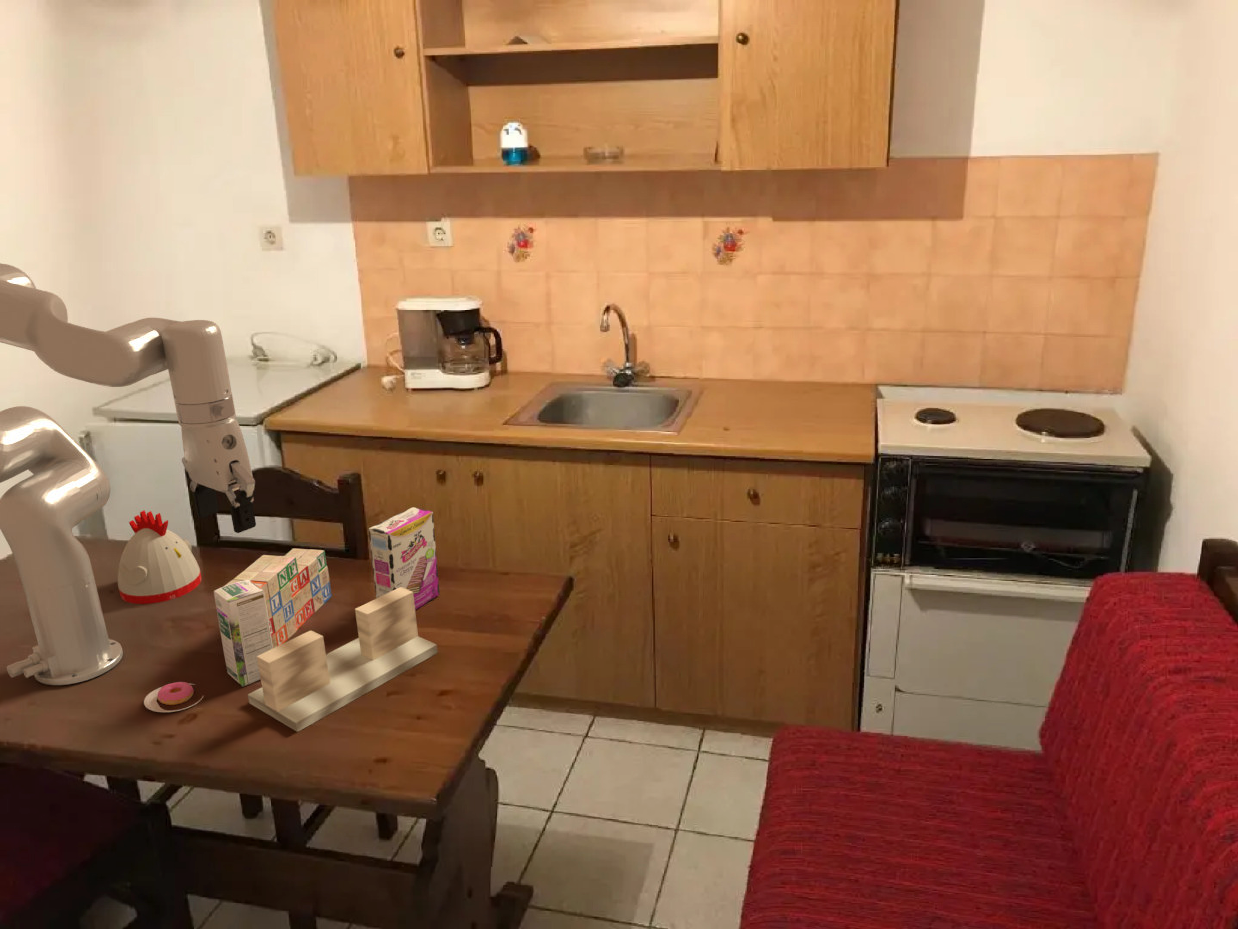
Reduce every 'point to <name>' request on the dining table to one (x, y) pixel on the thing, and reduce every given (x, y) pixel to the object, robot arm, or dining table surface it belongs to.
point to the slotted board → (340, 663)
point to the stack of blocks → (290, 588)
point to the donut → (169, 696)
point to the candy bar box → (405, 555)
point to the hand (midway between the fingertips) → (226, 522)
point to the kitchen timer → (156, 563)
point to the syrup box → (243, 629)
